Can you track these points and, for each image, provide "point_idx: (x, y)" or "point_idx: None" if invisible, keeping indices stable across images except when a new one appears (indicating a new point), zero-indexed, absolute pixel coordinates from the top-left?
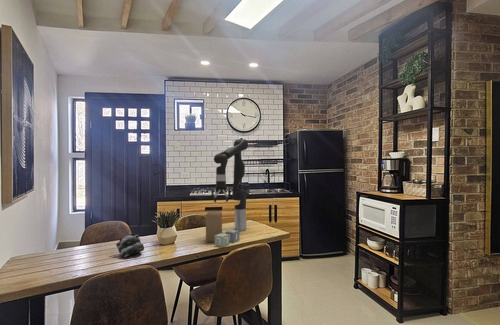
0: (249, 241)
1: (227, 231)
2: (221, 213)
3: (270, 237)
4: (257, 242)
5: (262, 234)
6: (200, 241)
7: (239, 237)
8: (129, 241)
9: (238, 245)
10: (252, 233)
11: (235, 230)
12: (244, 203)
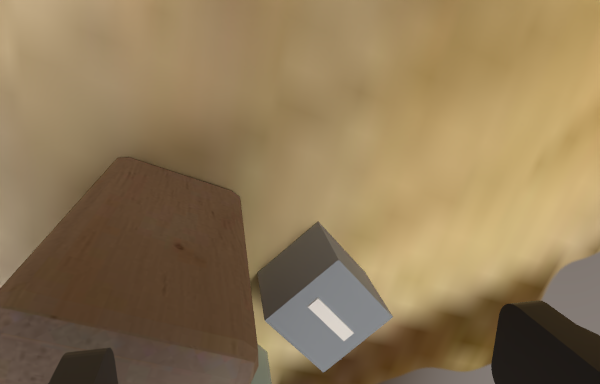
0: (419, 313)
1: (283, 317)
2: (251, 381)
3: (587, 255)
4: (455, 345)
5: (589, 155)
6: (31, 218)
7: (372, 284)
8: None
9: (320, 381)
10: (540, 92)
11: (364, 299)
12: None
